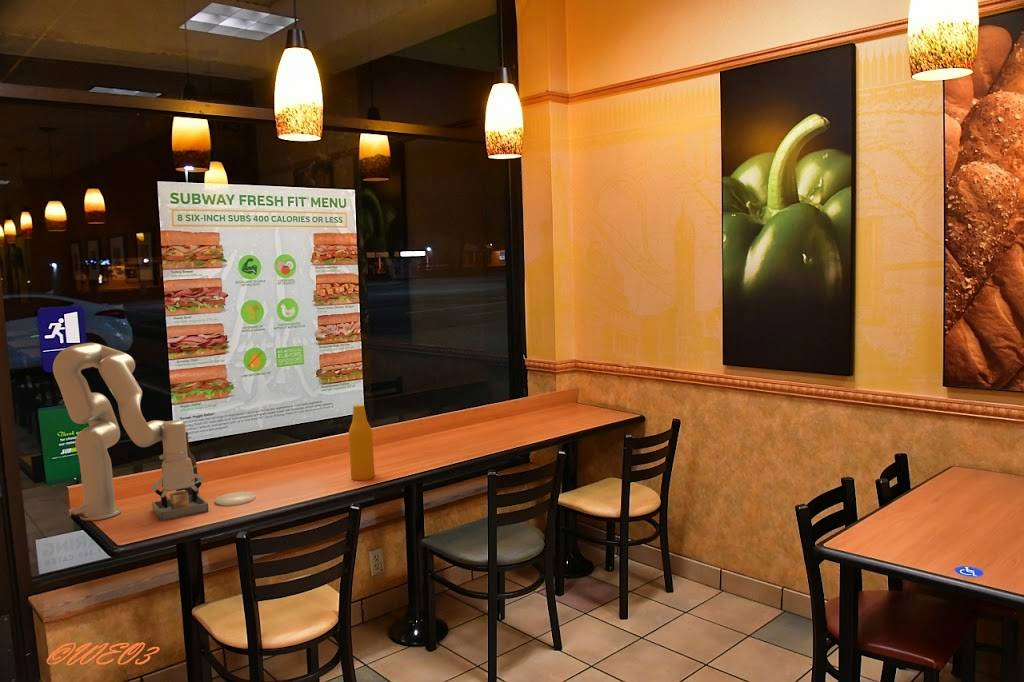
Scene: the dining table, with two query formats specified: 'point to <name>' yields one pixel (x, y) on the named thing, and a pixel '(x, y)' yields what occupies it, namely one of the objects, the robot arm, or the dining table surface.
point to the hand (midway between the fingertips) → (179, 504)
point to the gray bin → (180, 509)
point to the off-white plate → (235, 498)
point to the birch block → (179, 499)
